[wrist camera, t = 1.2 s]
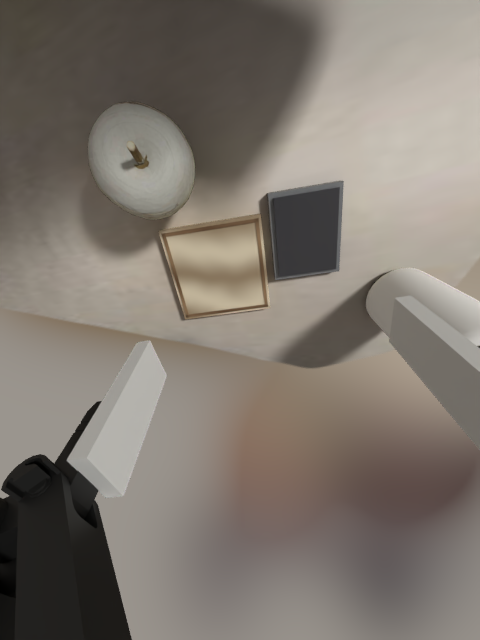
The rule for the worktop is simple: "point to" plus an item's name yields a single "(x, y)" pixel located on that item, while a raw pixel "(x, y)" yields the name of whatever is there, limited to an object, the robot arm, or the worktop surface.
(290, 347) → the worktop surface
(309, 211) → the ink pad
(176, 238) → the board
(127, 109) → the decorative object
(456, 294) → the potion bottle
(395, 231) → the worktop surface
